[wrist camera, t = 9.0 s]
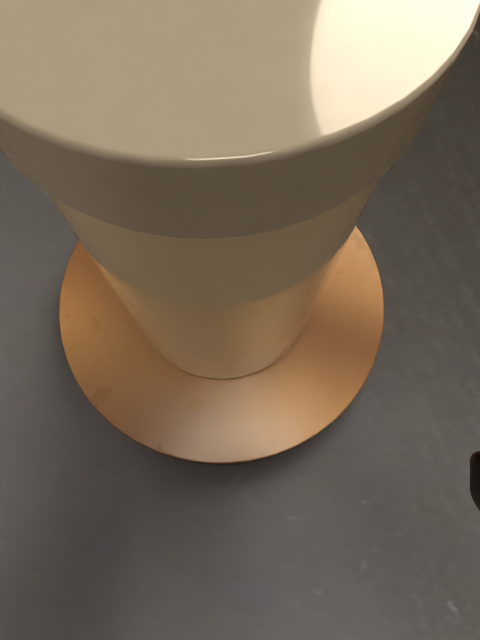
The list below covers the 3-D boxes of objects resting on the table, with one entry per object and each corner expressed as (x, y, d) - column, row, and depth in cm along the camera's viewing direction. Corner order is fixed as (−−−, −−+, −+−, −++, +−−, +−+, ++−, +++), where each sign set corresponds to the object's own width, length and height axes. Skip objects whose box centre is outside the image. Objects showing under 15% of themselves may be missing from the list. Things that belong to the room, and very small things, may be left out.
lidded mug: (341, 353, 17) (607, 76, 5) (152, 408, 16) (-83, 241, 4) (265, 152, 20) (314, -327, 8) (102, 191, 19) (-119, -276, 7)
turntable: (354, 500, 16) (362, 502, 15) (20, 420, 17) (7, 418, 16) (392, 203, 20) (400, 190, 19) (122, 150, 21) (117, 135, 20)
